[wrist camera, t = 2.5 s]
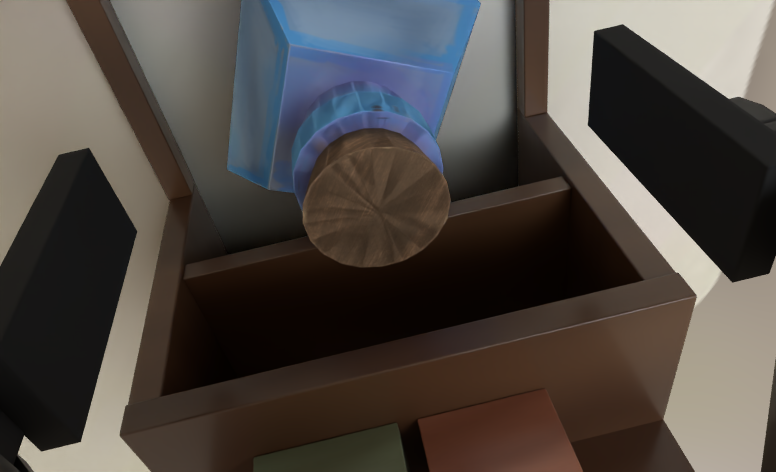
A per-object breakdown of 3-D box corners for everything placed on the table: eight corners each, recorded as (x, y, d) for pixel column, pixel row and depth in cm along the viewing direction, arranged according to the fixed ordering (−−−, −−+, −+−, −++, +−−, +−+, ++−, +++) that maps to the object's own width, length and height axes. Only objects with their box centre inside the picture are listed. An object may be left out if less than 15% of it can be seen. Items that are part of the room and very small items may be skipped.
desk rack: (6, -141, 17) (-1435, 441, 3) (542, -258, 17) (1942, -327, 3) (228, 299, 29) (196, 824, 15) (537, 225, 30) (799, 668, 15)
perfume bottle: (388, 106, 24) (466, 319, 15) (233, 82, 22) (215, 307, 13) (430, -54, 20) (567, 99, 11) (249, -97, 19) (240, 43, 10)
